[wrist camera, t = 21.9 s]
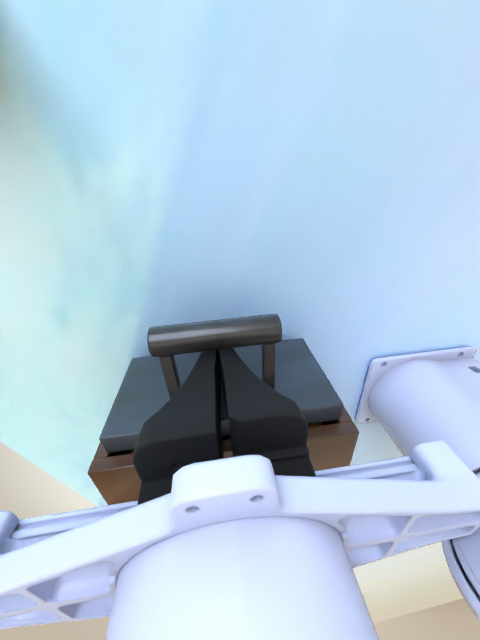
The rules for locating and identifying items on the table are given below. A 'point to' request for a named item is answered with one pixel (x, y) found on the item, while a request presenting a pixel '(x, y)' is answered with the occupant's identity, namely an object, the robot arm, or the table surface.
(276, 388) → the drawer
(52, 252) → the table surface
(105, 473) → the cabinet
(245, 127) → the table surface
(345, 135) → the table surface
